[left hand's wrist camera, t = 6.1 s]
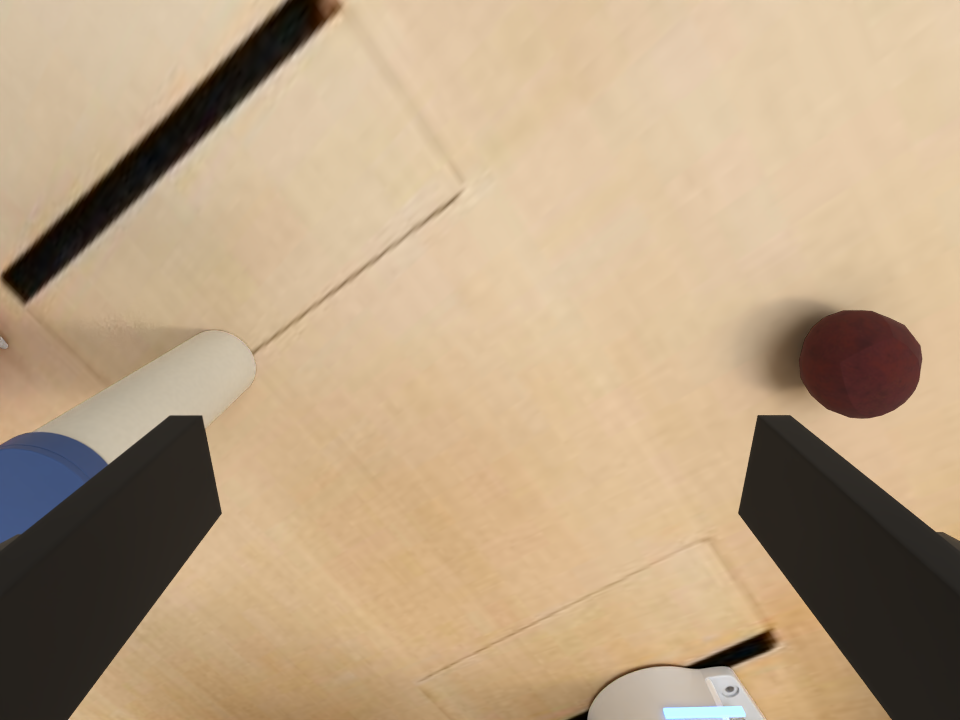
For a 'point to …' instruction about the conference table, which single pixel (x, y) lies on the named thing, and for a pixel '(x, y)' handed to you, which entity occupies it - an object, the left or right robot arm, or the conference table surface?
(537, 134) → the conference table surface
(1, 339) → the fish
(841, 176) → the conference table surface
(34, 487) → the lid
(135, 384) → the jar
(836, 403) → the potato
